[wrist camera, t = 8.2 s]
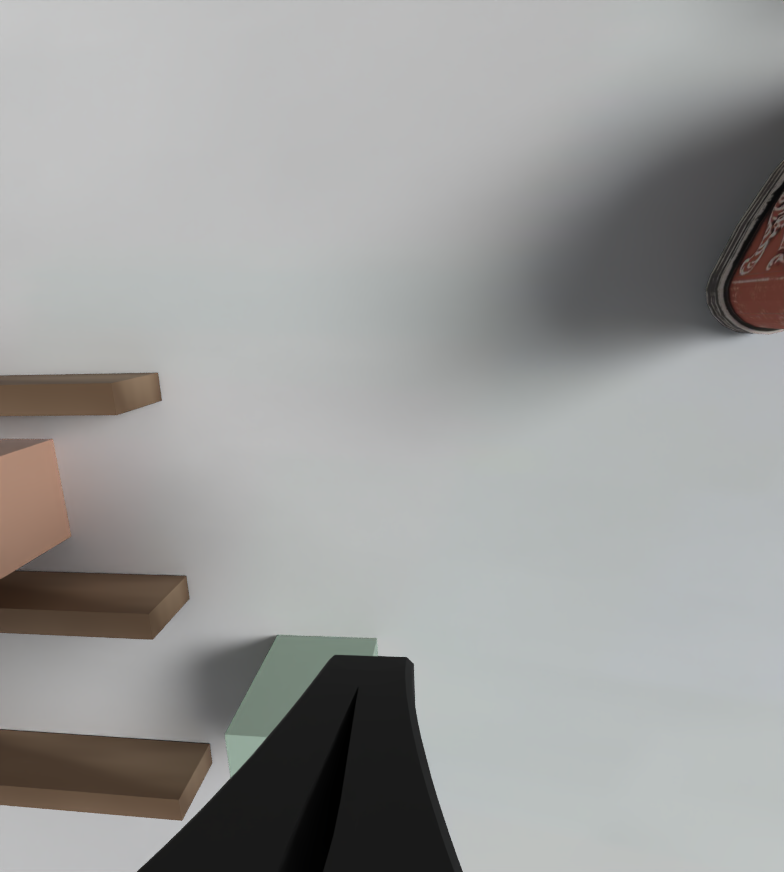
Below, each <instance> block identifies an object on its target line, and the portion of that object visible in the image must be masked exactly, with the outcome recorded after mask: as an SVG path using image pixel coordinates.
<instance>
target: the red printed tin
mask: <svg viewBox="0 0 784 872" xmlns="http://www.w3.org/2000/svg"><path fill="white" fill-rule="evenodd" d="M706 298H707V304H708V307H709V309H710V311H711V313H712V315H713V316H714V317H715V318H716V319H717V320H718V321H719V322H720V323H721V324H722V325H723V326H725V327H728V328H730V329H732V330H734V331H737V332H746V333H757V334H773V333H777V332H782V331H784V160H783V161H782V162H781V163H780V164H779V166H778V167H777V168H776V169H775V170H774V171H773V173H772V174H771V175H770V177H769V178H768V180H767V181H766V183H765V184H764V186H763V187H762V189H761V190H760V192H759V193H758V195H757V196H756V198H755V199H754V201H753V202H752V204H751V205H750V207H749V208H748V210H747V211H746V213H745V214H744V216H743V217H742V219H741V220H740V222H739V223H738V225H737V226H736V228H735V230H734V232H733V234H732V235H731V237H730V239H729V241H728V243H727V245H726V247H725V249H724V251H723V252H722V254H721V256H720V258H719V260H718V262H717V264H716V266H715V267H714V269H713V271H712V273H711V275H710V277H709V281H708V284H707V287H706Z"/></svg>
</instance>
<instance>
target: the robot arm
mask: <svg viewBox="0 0 784 872" xmlns="http://www.w3.org/2000/svg"><path fill="white" fill-rule="evenodd" d="M137 872H463V871H462V868H461V866H460V863H459V860H458V858H457V855H456V852H455V849H454V846H453V843H452V841H451V838H450V835H449V832H448V829H447V826H446V823H445V820H444V817H443V814H442V810H441V807H440V804H439V801H438V798H437V795H436V791H435V788H434V785H433V781H432V778H431V774H430V770H429V767H428V763H427V759H426V755H425V751H424V747H423V743H422V739H421V735H420V730H419V726H418V721H417V715H416V709H415V688H414V664H413V663H412V662H411V661H410V660H409V659H408V658H407V657H386V656H360V655H334V656H333V657H332V658H331V659H329V660H328V662H327V663H326V664H325V666H324V667H323V668H322V670H321V671H320V672H319V674H318V675H317V676H316V678H315V679H314V680H313V681H312V683H311V684H310V685H309V687H308V688H307V689H306V690H305V692H304V693H303V694H302V696H301V697H300V698H299V699H298V701H297V702H296V703H295V704H294V706H293V707H292V708H291V709H290V711H289V712H288V713H287V714H286V715H285V717H284V718H283V719H282V720H281V721H280V723H279V724H278V725H277V726H276V727H275V728H274V730H273V731H272V732H271V733H270V734H269V736H268V737H267V738H266V739H265V740H264V741H263V743H262V744H261V745H260V746H259V747H258V749H257V750H256V751H255V752H254V753H253V754H252V755H251V757H250V758H249V759H248V760H247V761H246V762H245V763H244V764H243V765H242V766H241V768H240V769H239V770H238V771H237V772H236V773H235V774H234V775H233V776H232V777H231V778H230V779H229V780H228V781H227V783H226V784H225V785H224V786H223V787H222V788H221V789H220V790H219V791H218V792H217V793H216V794H215V795H214V796H213V798H212V799H211V800H210V801H209V802H208V803H207V804H206V805H205V806H204V807H203V808H202V809H201V810H200V811H199V812H198V813H197V814H196V815H195V816H194V817H193V818H192V819H191V820H190V821H189V822H188V823H187V824H186V825H185V826H184V827H183V828H182V829H181V830H180V831H179V832H178V833H177V834H176V835H175V836H174V837H173V838H172V839H171V840H170V841H169V842H168V843H167V844H166V845H165V846H164V847H163V848H162V849H161V850H160V851H159V852H157V853H156V854H155V855H154V856H153V857H152V858H151V859H150V860H149V861H148V862H147V863H146V864H145V865H144V866H142V867H141V868H140V869H139V870H138V871H137Z"/></svg>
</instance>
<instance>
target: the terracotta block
mask: <svg viewBox="0 0 784 872" xmlns="http://www.w3.org/2000/svg"><path fill="white" fill-rule="evenodd" d="M69 537H71V533H70V527H69V522H68V517H67V512H66V506H65V501H64V496H63V491H62V485H61V480H60V475H59V470H58V464H57V459H56V454H55V449H54V443H53V439H0V579H2V578H3V577H5V576H7V575H8V574H10V573H12V572H13V571H15V570H17V569H18V568H20V567H22V566H23V565H25V564H27V563H28V562H30V561H31V560H33V559H35V558H36V557H38V556H40V555H41V554H43V553H45V552H46V551H48V550H50V549H51V548H53V547H55V546H56V545H58V544H60V543H61V542H63V541H65V540H66V539H68V538H69Z"/></svg>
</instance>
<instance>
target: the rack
mask: <svg viewBox="0 0 784 872" xmlns="http://www.w3.org/2000/svg"><path fill="white" fill-rule="evenodd" d="M159 401H162V399H161V391H160V384H159V377H158V373H121V374H65V375H8V376H0V416H62V415H118V414H121V413H125V412H128V411H131V410H134V409H137V408H140V407H143V406H146V405H149V404H153V403H156V402H159ZM188 600H189V592H188V585H187V578H186V576H168V575H134V574H100V573H66V572H32V571H13V572H12V573H10V574H8V575H7V576H5V577H3V578H2V579H0V633H18V634H40V635H63V636H85V637H107V638H130V639H152V640H153V639H154V638H155V637H156V635H157V634H158V633H159V632H160V631H161V630H162V629H163V628H164V627H165V625H166V624H167V623H168V622H169V621H170V620H171V619H172V618H173V617H174V615H175V614H176V613H177V612H178V611H179V610H180V609H181V608H182V606H183V605H184V604H185V603H186V602H187V601H188ZM211 764H212V757H211V750H210V744H202V743H188V742H173V741H158V740H144V739H129V738H114V737H100V736H85V735H70V734H56V733H41V732H26V731H12V730H0V805H8V806H19V807H31V808H42V809H54V810H65V811H77V812H89V813H100V814H112V815H123V816H135V817H146V818H158V819H169V820H181V821H182V820H183V818H184V816H185V814H186V812H187V810H188V809H189V807H190V805H191V803H192V801H193V799H194V797H195V795H196V793H197V791H198V789H199V787H200V786H201V784H202V782H203V780H204V778H205V776H206V774H207V772H208V770H209V768H210V766H211Z"/></svg>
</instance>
